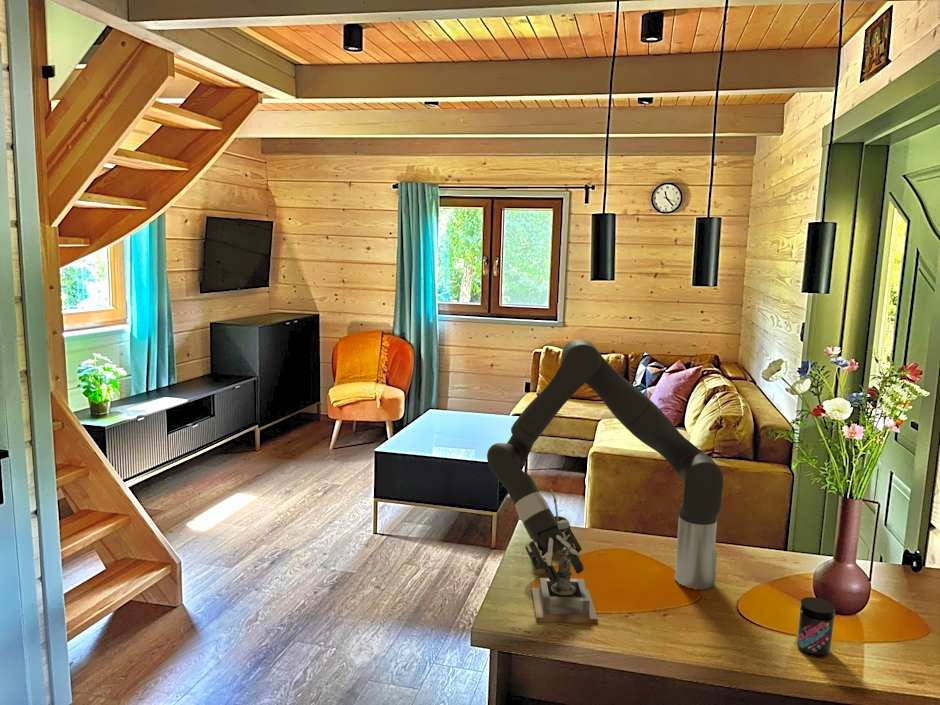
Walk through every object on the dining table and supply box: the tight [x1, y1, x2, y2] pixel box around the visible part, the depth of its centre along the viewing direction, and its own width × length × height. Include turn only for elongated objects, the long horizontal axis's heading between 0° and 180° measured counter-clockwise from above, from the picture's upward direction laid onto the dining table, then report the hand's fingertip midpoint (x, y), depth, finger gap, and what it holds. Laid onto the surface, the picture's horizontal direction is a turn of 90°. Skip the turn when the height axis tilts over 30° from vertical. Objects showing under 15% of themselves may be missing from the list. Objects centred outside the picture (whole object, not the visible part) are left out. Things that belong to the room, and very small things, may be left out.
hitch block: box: [531, 577, 599, 624], centre depth 172 cm, size 14×14×4 cm
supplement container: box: [796, 596, 836, 658], centre depth 155 cm, size 7×7×10 cm
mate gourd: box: [549, 488, 571, 548], centre depth 205 cm, size 8×8×15 cm
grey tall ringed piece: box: [551, 555, 576, 597], centre depth 171 cm, size 6×6×12 cm
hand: (569, 577), depth 170 cm, fingers open, 8 cm apart
